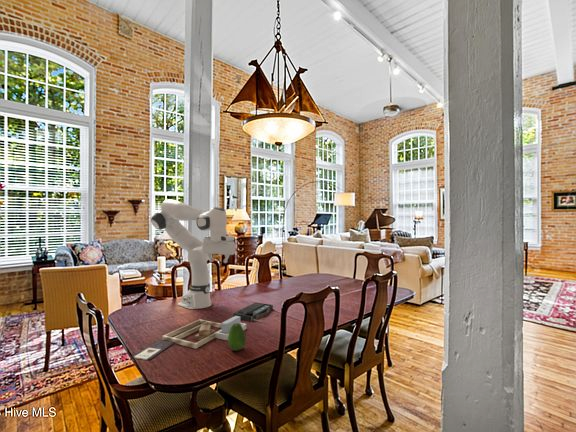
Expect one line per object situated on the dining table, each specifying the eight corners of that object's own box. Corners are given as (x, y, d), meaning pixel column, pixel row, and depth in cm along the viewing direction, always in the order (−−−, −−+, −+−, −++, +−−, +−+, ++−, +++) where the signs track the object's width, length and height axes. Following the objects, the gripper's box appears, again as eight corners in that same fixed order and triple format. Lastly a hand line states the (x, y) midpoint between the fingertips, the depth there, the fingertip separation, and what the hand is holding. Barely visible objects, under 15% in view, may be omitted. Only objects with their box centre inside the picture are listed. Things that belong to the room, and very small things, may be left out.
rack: (162, 340, 148) (162, 335, 148) (199, 322, 171) (199, 319, 171) (195, 348, 139) (195, 344, 139) (230, 329, 162) (230, 325, 162)
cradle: (215, 337, 151) (215, 332, 151) (235, 326, 166) (235, 321, 166) (226, 340, 148) (226, 335, 148) (246, 328, 163) (246, 323, 163)
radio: (255, 300, 202) (282, 304, 193) (255, 306, 202) (282, 311, 193) (232, 311, 179) (262, 316, 171) (232, 318, 179) (262, 324, 171)
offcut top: (198, 335, 149) (199, 330, 149) (201, 330, 156) (201, 325, 156) (208, 335, 149) (208, 330, 149) (210, 329, 156) (210, 324, 156)
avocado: (224, 351, 136) (224, 324, 136) (236, 344, 143) (236, 319, 143) (237, 356, 132) (237, 328, 132) (249, 349, 138) (249, 322, 138)
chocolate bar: (175, 341, 145) (149, 359, 128) (175, 343, 145) (149, 361, 128) (159, 339, 147) (131, 356, 130) (159, 341, 147) (131, 358, 130)
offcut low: (194, 340, 149) (194, 335, 149) (206, 333, 158) (206, 328, 158) (203, 342, 147) (203, 337, 147) (215, 334, 156) (215, 329, 156)
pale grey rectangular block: (221, 337, 152) (221, 322, 152) (235, 328, 163) (235, 315, 163) (226, 338, 151) (226, 323, 151) (240, 329, 162) (240, 316, 162)
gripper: (199, 236, 170) (199, 261, 170) (230, 238, 162) (229, 264, 162) (207, 235, 176) (207, 260, 176) (237, 237, 167) (236, 262, 167)
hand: (218, 262), depth 169 cm, fingers open, 8 cm apart
